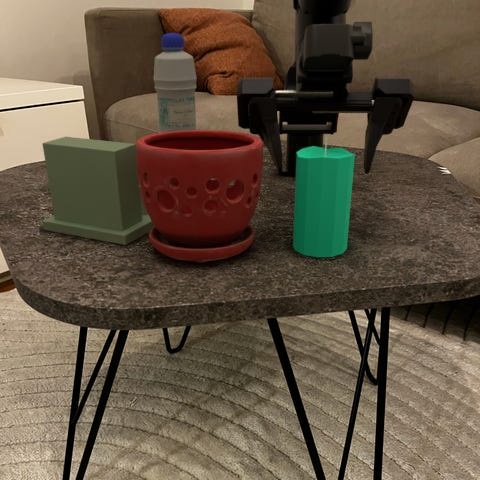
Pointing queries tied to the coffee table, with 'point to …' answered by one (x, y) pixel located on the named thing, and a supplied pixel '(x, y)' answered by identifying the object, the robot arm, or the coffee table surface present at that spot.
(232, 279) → the coffee table surface
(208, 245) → the flower pot
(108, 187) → the green tombstone shape
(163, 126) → the bottle
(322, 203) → the candle
